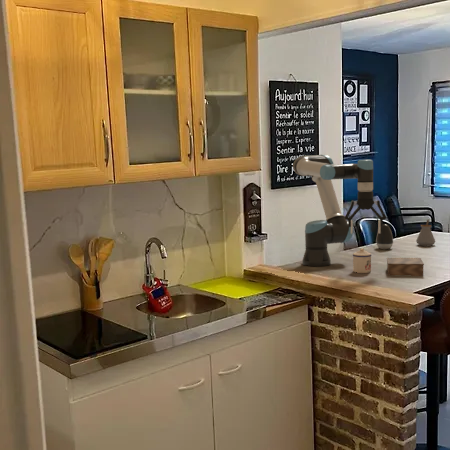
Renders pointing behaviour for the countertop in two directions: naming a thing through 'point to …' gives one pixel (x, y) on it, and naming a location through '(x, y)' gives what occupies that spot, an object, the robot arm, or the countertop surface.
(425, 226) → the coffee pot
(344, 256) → the countertop surface
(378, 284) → the countertop surface
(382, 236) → the brown egg-shaped piece
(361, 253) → the teacup with lid
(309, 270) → the countertop surface
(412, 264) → the walnut box
